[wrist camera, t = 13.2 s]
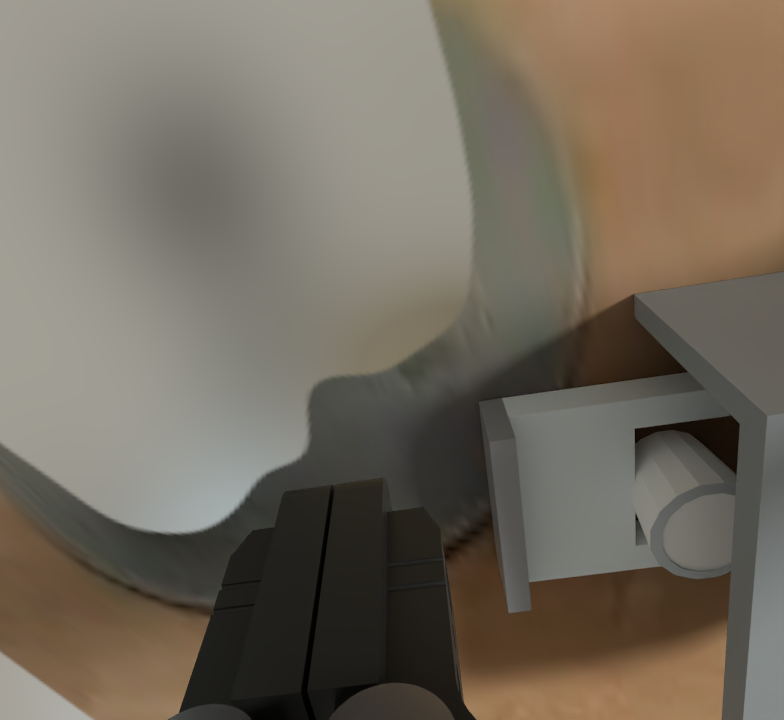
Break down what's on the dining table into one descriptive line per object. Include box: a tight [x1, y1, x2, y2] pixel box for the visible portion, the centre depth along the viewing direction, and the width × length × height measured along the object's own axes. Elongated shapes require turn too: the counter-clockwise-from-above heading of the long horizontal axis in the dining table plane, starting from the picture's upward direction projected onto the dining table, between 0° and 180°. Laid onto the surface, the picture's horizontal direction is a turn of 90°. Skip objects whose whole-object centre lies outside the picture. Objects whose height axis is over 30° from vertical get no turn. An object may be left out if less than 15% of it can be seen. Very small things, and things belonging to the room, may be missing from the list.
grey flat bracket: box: [479, 372, 731, 613], centre depth 41 cm, size 20×13×5 cm, turn 99°
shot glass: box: [632, 430, 737, 579], centre depth 40 cm, size 7×7×7 cm
